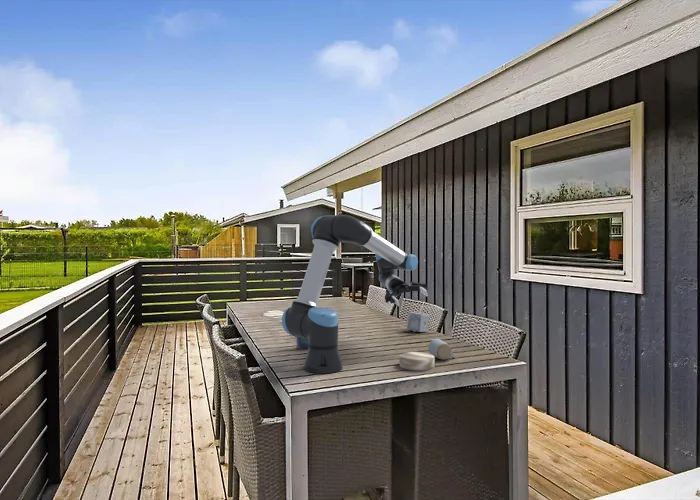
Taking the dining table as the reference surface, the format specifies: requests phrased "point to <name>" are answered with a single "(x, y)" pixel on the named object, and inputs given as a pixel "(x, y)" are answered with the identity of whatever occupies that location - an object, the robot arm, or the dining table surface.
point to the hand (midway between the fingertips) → (412, 298)
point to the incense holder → (418, 322)
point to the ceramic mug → (440, 349)
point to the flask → (302, 343)
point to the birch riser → (416, 361)
